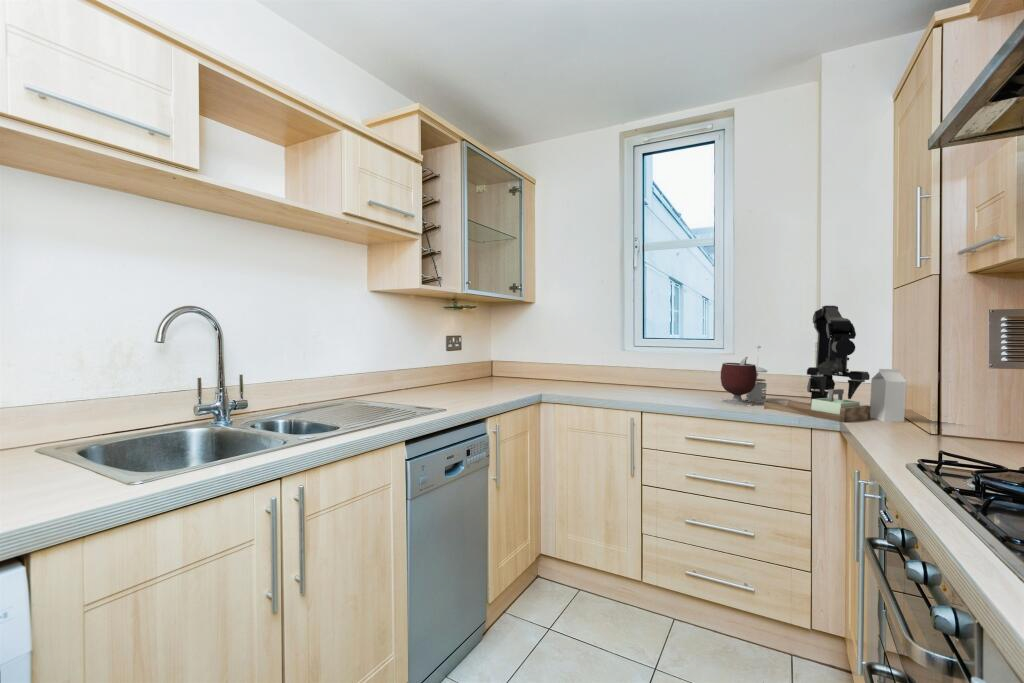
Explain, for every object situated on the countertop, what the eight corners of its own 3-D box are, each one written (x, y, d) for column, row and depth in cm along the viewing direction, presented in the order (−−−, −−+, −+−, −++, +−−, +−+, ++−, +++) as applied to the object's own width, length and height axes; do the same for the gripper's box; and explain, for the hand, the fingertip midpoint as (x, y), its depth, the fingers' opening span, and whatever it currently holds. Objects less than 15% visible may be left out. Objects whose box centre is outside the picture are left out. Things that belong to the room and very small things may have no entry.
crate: (829, 413, 181) (831, 387, 180) (858, 418, 172) (860, 390, 171) (810, 415, 175) (812, 388, 175) (840, 420, 166) (841, 392, 166)
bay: (789, 407, 197) (790, 394, 197) (869, 421, 171) (870, 406, 170) (763, 409, 189) (764, 396, 189) (843, 424, 163) (844, 408, 163)
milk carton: (904, 424, 167) (907, 370, 167) (883, 423, 168) (886, 369, 167) (888, 420, 175) (891, 368, 174) (869, 419, 175) (871, 367, 174)
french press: (744, 401, 211) (747, 345, 210) (742, 397, 222) (744, 344, 221) (769, 403, 207) (772, 346, 206) (765, 399, 218) (768, 345, 217)
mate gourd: (747, 407, 194) (750, 358, 193) (713, 402, 204) (716, 356, 203) (761, 403, 205) (763, 357, 204) (728, 399, 215) (730, 355, 214)
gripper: (798, 352, 177) (796, 394, 178) (853, 356, 161) (851, 402, 161) (816, 352, 182) (814, 393, 183) (871, 356, 166) (869, 400, 166)
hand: (835, 397), depth 173 cm, fingers open, 9 cm apart
